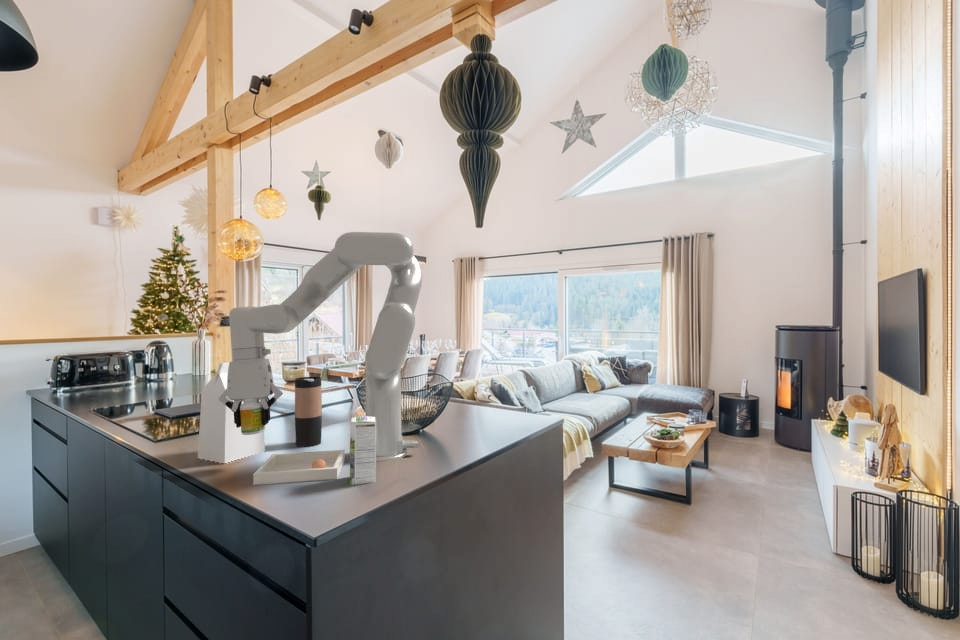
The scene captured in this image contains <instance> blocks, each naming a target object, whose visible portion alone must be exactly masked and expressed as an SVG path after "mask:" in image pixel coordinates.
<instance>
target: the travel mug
mask: <svg viewBox="0 0 960 640" xmlns="http://www.w3.org/2000/svg"><path fill="white" fill-rule="evenodd" d="M322 395H323V394H322V377H320V376H303V377H296V378H295V379H294V424H295V425H294V426H295V427H294V429H295V445H296V447H297V448H311V447H315V446H319V445H320V444H321V443H322V425H323V424H322V423H323V410H322V409H323V408H322V406H323V405H322V404H323V403H322V401H323V399H322Z"/></svg>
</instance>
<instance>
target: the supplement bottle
mask: <svg viewBox="0 0 960 640" xmlns="http://www.w3.org/2000/svg"><path fill="white" fill-rule="evenodd" d="M259 400H260V399H245V400H243V402H244V403H243V404H242V405H241V406H240V418H241V433H242V434H243V435H252V434H258V433H261V432H263V431H264V432H265V431H266V425H262V413H261V411H262V410H263V406H262V403H261V402H259Z"/></svg>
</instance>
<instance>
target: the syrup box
mask: <svg viewBox="0 0 960 640" xmlns="http://www.w3.org/2000/svg"><path fill="white" fill-rule="evenodd" d="M349 440H350V441H349V486H356V485H364V484H372V483H377V461H376V418H375V417H370V416H366V415H365V416H364V415H363V416H354V417H351V419H350V435H349Z"/></svg>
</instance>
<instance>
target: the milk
mask: <svg viewBox="0 0 960 640" xmlns="http://www.w3.org/2000/svg"><path fill="white" fill-rule="evenodd" d="M229 362H230V361H228V362H220V363H219V364H218V367H217V370H216V373H215V374H214V375H213V377H212V378H211V379H210V380H209V381H208V382H207V383H206V384H205V386H204V387H203V389H202V392H201V399H200V412H199V413H200V415H199V416H200V417H199V428H198V429H199V433H198V448H197V459H198V458H200V459H199V460H202V459H205V460H204V461H207V460H210V461H209V462H212V461H215V462H214V463H216V462H219V463H218V464H221V463H227V464H229V463H228V462H230V463H232V462H231V461H233V462H235V461H234V460H237V459H240V460H242V459H241V458H243V459H245V458H244V457H246V458H249V457H248V456H250V457H252V456H251V455H253V456H255V455H257V454H262V453H265V452H266V448H265V447H266V446H265V443H266V442H265V430H264V431H263V432H261V433H258V434H252V435H243V434H242V433H241V427H239V428H237V427H236V424H235V423H234V412H232V411H231V409H230V408H228V407H227V406H226V405H225V404H223V403H222V402H220V401H219V400H218V399H219V397H220V396H221V395H222V394H223V392H224V391H225V390H226V389H227V376H228V368H229ZM228 399H229V398H228ZM229 400H230V399H229ZM230 401H233V402H234V400H230ZM259 402H261V401H260V400H259ZM243 403H244V402H243V401H242V404H243ZM242 404H241V405H242ZM264 451H265V452H264ZM261 452H262V453H261ZM237 461H238V460H237Z"/></svg>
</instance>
